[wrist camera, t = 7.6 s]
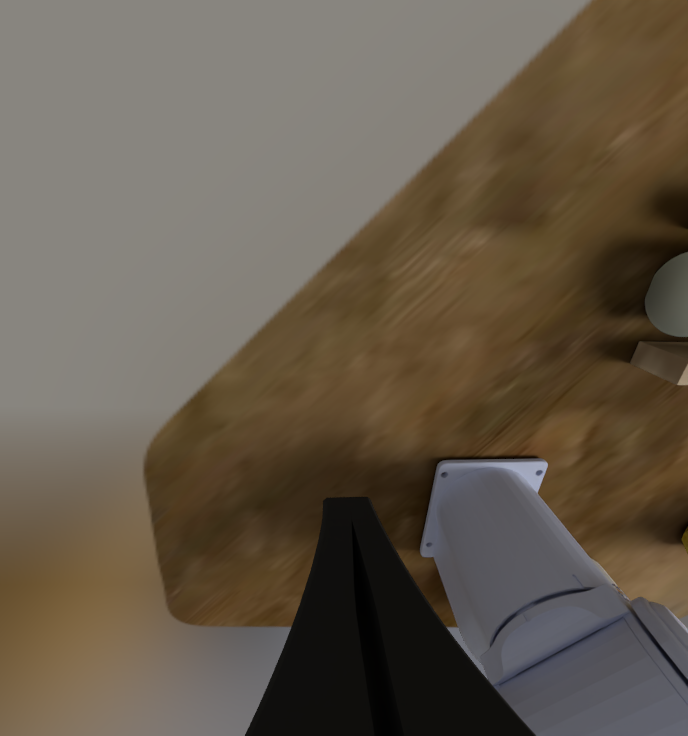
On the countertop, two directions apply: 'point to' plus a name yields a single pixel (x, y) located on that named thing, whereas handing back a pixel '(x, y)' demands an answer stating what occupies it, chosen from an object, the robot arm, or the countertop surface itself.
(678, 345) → the oak rest
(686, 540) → the chocolate bunny
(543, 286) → the countertop surface
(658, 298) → the sage bottle
